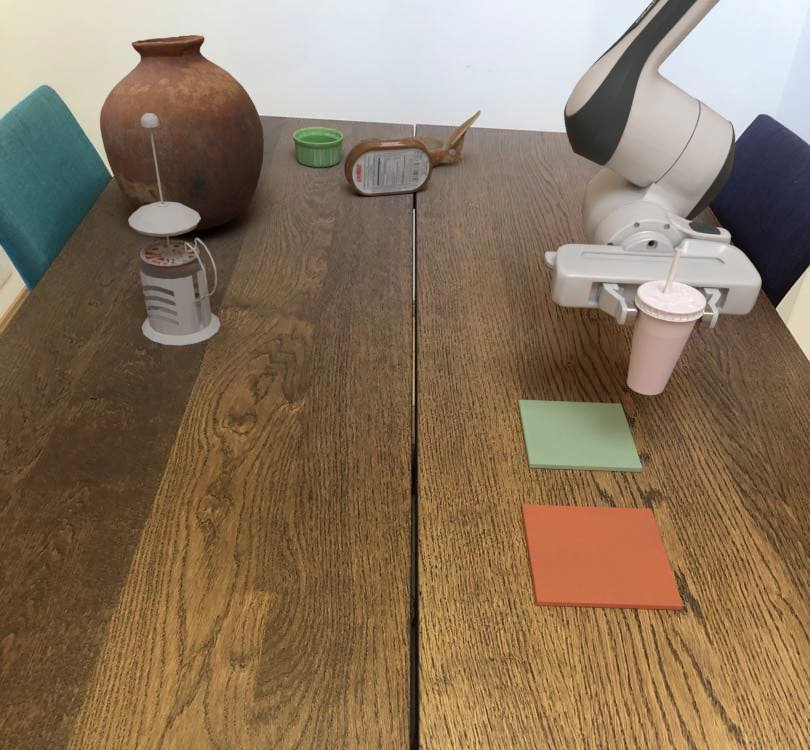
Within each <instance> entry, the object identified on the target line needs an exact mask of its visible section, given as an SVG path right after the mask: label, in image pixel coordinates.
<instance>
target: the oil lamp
mask: <svg viewBox="0 0 810 750" xmlns="http://www.w3.org/2000/svg"><path fill="white" fill-rule="evenodd" d="M480 116H481V110H480V109H479V110H478V111H477V112H476V113H475V114H474V115H472V116H471V117H470V118H468V119H467V120H465V121H464V122H463V123H461V124H460V125H459V127H456V129H455V130H454V132H452V134H451V136H450V137H449V138H448V139H447V140H446V141H445V142H444V141H443V140H441V139H438V138H436V137H432V136H423V135H417V136H416V135H413V136H403V138H402V139H416V140H418V141H420V142H421V143H423V144H424V145H425V147H426V148H427V150H428V152H429V153H430V155H431V157H432V161H433V167H436V166H437V165H439V164H443V163H444V164H445V163H446V164H451V163H455V162H457V161H458V160H459V158H460V156H461V154H462V151H463V147H464V143H465V137H466V134H467V131H468V129H470V127H472V125H474V123H475V122H476V120H477V119H478V118H479V117H480ZM367 140H385V139H384V138H376V137H368V138H364V139H361V140H360V142H359V143H361V142H363V141H367ZM451 150H453V151H455V152H454V153H455V154H454V155H451V154H450V151H451Z"/></svg>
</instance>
